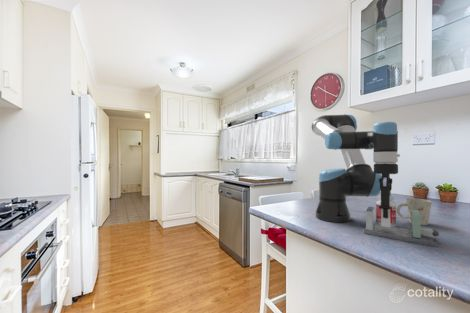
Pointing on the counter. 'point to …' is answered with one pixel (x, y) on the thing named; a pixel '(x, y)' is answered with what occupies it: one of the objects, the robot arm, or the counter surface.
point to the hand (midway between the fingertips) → (386, 224)
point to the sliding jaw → (416, 226)
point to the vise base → (394, 231)
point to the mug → (419, 205)
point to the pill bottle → (392, 212)
